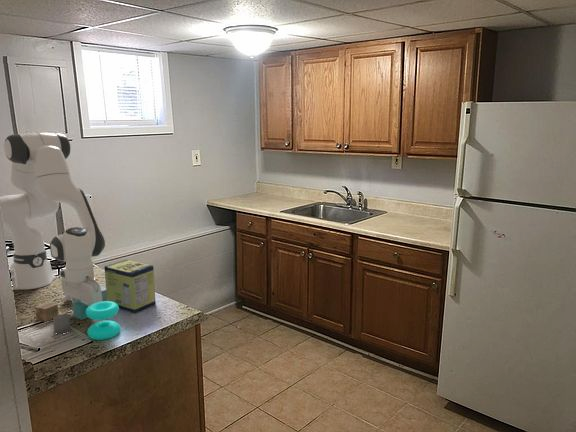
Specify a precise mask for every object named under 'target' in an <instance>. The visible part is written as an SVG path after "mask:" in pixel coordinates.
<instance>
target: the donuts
mask: <svg viewBox="0 0 576 432" xmlns="http://www.w3.org/2000/svg"><path fill="white" fill-rule="evenodd" d="M119 310H120V309H119V306H118V305H117V304H116V303H114V302H111V301H103V302H97V303H94V304H92V305H90V306H89V307H88V308H87V309H86V315H87V316H88V319H91V320H95V321H97V322H95V323H92V324H91V326H89V327H88V329H87V336H88V337H89V338H90V339H92V340H97V341H102V340H107V339H111V338H114V337H115V336H117V335H118V334H119V333H120V331H121V326H120V323H118V322H116V321H115V320H107V319H110V318H113V317H115V316H117V314H118V312H119Z"/></svg>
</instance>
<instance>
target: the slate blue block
mask: <svg viewBox="0 0 576 432" xmlns="http://www.w3.org/2000/svg"><path fill="white" fill-rule="evenodd" d="M100 288H101V293H102V302H103V301H107V293H106V287H105V286H101V285H100Z"/></svg>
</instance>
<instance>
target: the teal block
mask: <svg viewBox="0 0 576 432" xmlns="http://www.w3.org/2000/svg"><path fill="white" fill-rule="evenodd" d="M78 301H79V302H76V303H73V302H72V312H73V317H74V318H76V319H79V320H81V321H83V320H85V319H89V317H88V316H87V315H86V309H87V308H88V305H87V303H85V302H83V301H80V300H78Z"/></svg>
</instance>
